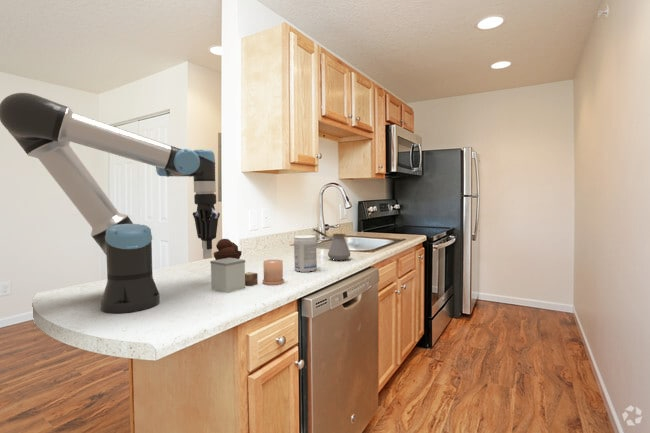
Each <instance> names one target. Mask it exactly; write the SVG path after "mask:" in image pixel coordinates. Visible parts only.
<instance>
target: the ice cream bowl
mask: <svg viewBox="0 0 650 433" xmlns="http://www.w3.org/2000/svg"><path fill="white" fill-rule="evenodd" d="M215 248H216V249H217V251H214V252H213V253H212V255H213V257H214V259H215V260H219V259H225V258H235V259H240V258H241V257H242V252H243V251H242V250H239V246H238V245H237V244H236V243H235V242H232V241H231V240H230V239H228V238H221V239H219V240H218V241H217V243H216V247H215Z"/></svg>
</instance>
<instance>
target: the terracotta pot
mask: <svg viewBox="0 0 650 433" xmlns="http://www.w3.org/2000/svg"><path fill="white" fill-rule="evenodd" d="M283 263H284V262H283V260H281V259H266V260H263V279H262V285H265V286H280V285H282V284H284V283H285V279H284V273H283V272H284V271H283V270H284V268H283V267H284V266H283V265H284V264H283ZM279 284H280V285H279Z"/></svg>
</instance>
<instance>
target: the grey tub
mask: <svg viewBox="0 0 650 433" xmlns="http://www.w3.org/2000/svg"><path fill="white" fill-rule="evenodd" d="M209 263H210V274H211V276H210V279H211V282H210V284H211V285H210V286H211V287H210V288H211V290H214V291H218V292H221V293H226V294H228V293H231V292H234V291H239V290H241V289H245V288H246V286H245V272H246V268H245V267H246V264H245V263H246V259H240V258H239V259H235V258H225V259H219V260H216V259H215V260H210V262H209Z"/></svg>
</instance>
